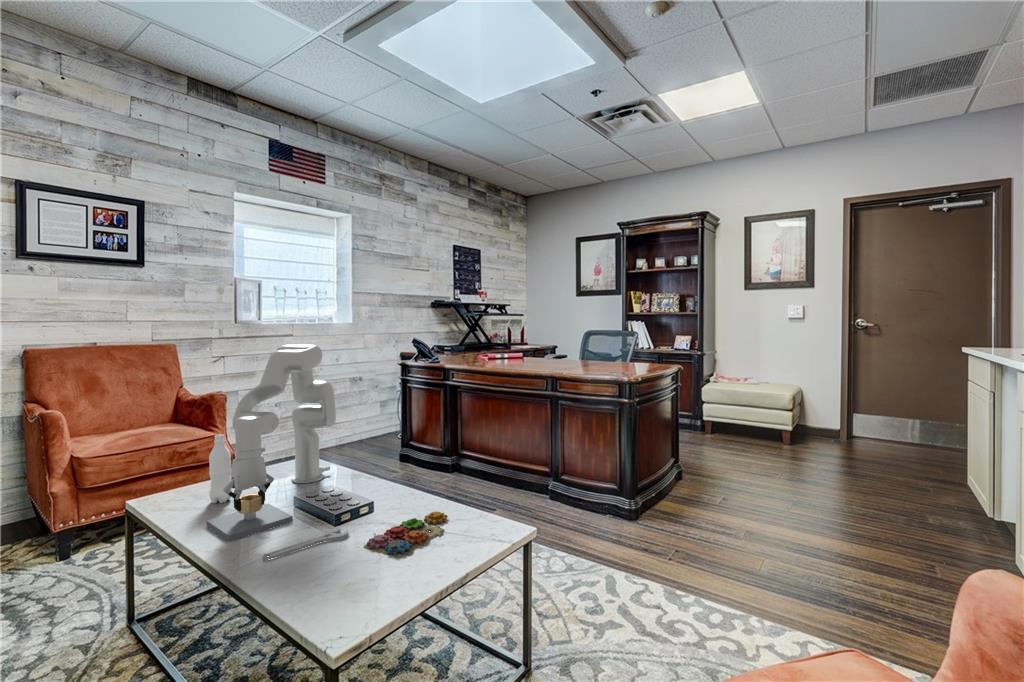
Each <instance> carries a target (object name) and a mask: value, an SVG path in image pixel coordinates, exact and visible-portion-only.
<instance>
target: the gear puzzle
mask: <svg viewBox="0 0 1024 682" xmlns="http://www.w3.org/2000/svg"><path fill="white" fill-rule="evenodd" d="M447 518H448V515H447V514H445V513H444V512H441V511H432V512H430V513H429V514H428V515H424V519H423V520H422V519H417V518H416V517H413V518H410V519H407V520H405V521H402V522H401V523H400V524H399V525H397V526H396V525H394V526H392V527H390V528H389V529H386V530H385V532H384V533H383V534H376V535H374V536H373V537H372V538H369V539H368V541H367V542H366V544H364V545H363V548H364V549H366V550H371V549H374V552H376V553H382V554H383V555H389V554H392V555H393V558H397V559H401V558H403V557H405V556H409V557H410V556H411V555H413V554H414V553H415V552H414V550H416V549H417V548H420V547H421V546H424V547H427V545H429V544H430V541H431V540H432V539H435V538H436V537H438V536H439V537H438V538H440V537H442V536H444V532H445V529H444V528H442V526H440V525H436V524H443V522H446V521H448V520H447ZM425 522H426V523H425ZM427 524H433V525H434V526H433V525H427ZM440 527H441V528H440ZM429 531H430V532H429ZM443 531H444V532H443ZM442 532H443V533H442ZM441 535H442V536H441Z"/></svg>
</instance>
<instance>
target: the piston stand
mask: <svg viewBox="0 0 1024 682" xmlns="http://www.w3.org/2000/svg"><path fill="white" fill-rule="evenodd" d="M293 521H294V520H293V515H292V514H290V513H288V512H285V511H284V510H282V509H280V508H278V507H276V506H275V505H272V504H271V503H264V505H262V508H261V509H260V510H259V511H257V512H253V513H248V514H241V513H239V512H238V511H236V512H232V513H229V514H225V515H221V516H217V517H214V518H211V519H207V520H206V527H207V528H208V529H210V530H211V531H212V532H214V533H216V534H217V535H218V536H219V537H221V538H222V539H223V540H225V541H227V542H228V543H231V542H233V541H237V540H240V539H242V537H243V538H246V537H245V536H247V537H249V536H248V535H250V536H253V535H256V534H259V533H263V532H265V530H266V531H269V530H271V529H270V528H272V529H274V528H273V527H275V528H278V527H281V526H284V525H283V524H285V525H287V524H286V523H288V524H290V522H291V523H293ZM280 525H281V526H280ZM277 526H278V527H277ZM268 529H269V530H268ZM258 532H259V533H258ZM255 533H256V534H255ZM252 534H253V535H252ZM239 538H240V539H239Z"/></svg>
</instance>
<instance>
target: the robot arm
mask: <svg viewBox="0 0 1024 682" xmlns="http://www.w3.org/2000/svg"><path fill="white" fill-rule="evenodd" d="M322 359H323V351H322V349H321V347H319V346H318V345H315V344H283V345H280V346H278V347H277V348H276V350H275V351H273V352H271V354H270V356H269V358H268V360H267V363H266V365H265V368H264V371H263V373H262V377H261V379H260V382H259V384H257V386H255V387H253V388H252V389H250V390H249V391H248V392H247V393H246V394H245V395H244V396H242V398H241V399H240V401H239V402H238V404H237V406H236V409H235V412H234V415H233V417H232V418H233V419H232V429H233V431H235V432H234V434H235V435H234V436H235V437H234V440H235V443H234V444H235V458H234V459H232V461H231V474H230V482H229V483H228V484H227V485H226V487H225V488H224V489H223V491H224V492H225V493H227V494H228V495H229V496H231V499H233V508H234V509H235V511H236V512H238V511H241V499H240V497H241V495H242V493H243V491H246V490H249V489H250V490H251V489H253V488H254V489H255V488H258V492H257V494H259V495H261V496H262V505H264V504H265V501H266V493H267V490H268V489H269V488H270V487H271V484H272V483H273V481H274V480H275V478H274V477H273V476H272V475H270V474H268V472H267V467H266V466H267V465H266V461H265V457H264V455H263V452H266V448H265V447H262V435H268V434H272V433H273V432H275V431H276V430H277V429H278V426H279V423H280V419H279V416H278V415H277V414H276V413H274V412H272V411H253V409H254V408H255V407H256V406H257V405H259V404H261V403H262V402H264V401H267V400H269V399H273V398H274V397H277V396H279V395H281V394H282V393H284V391H285V390H286V387H287V382H288V380H289V377H290V378H291V379H290V380H291V388H292V395H293V399H294V401H295V402H296V403H297V404H302V405H298V406H296V407H295V408H294V409H293V410H292V413H291V421H292V425H293V431H294V458H295V459H294V466H295V467H294V468H295V470H294V471H295V475H293V476H292V477H291V478H290V479H291V482H292V483H295V484H310V483H316V482H318V481H321V480H322V479H324V474H323V473H324V472H327V471H330V470H331V466H330V465H326V466H324V465H322V466H321V465H320V437H319V434H318V432H317V430H316V429H328V428H332V427H333V426H334V425H335V423H336V421H337V411H336V402H335V401H336V400H335V392H334V388H333V384H332V383H331V382H330V381H328V380H327V381H326V380H315V379H314V373H313V372H314V371H313V369H314V368H316V367H318V366H319V365H320V363H321V362H322ZM231 488H232V489H234V490H233V491H232V492H231V491H230V489H231Z"/></svg>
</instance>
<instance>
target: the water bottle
mask: <svg viewBox="0 0 1024 682" xmlns="http://www.w3.org/2000/svg"><path fill="white" fill-rule="evenodd" d="M225 442H226V440H225V434H224V433H222V434H221V433H220V434H219V433H218V434H215V435H214V441H213V443H214V445H213V447H212V449H211V451H210V453H209V456H208V461H209V462H208V463H209V471H208V474H209V478H210V489H209V499H210V501H211V503H212V504H217V503H218V502H219V503H220V504H223V502H224V503H226V502H227V500H229V501H230V500H231V499H232V497H231V496H229V495H228V494H227V493H225V492H224V491H223V489H224V488H225V487H226V485H227V484H228V483H229V482H230V479H231V468H232V460H231V458H232V454H231V452H230V449H229V448H228V447H227V445H226V443H225ZM230 491H231V492H233V488H231V489H230Z"/></svg>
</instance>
